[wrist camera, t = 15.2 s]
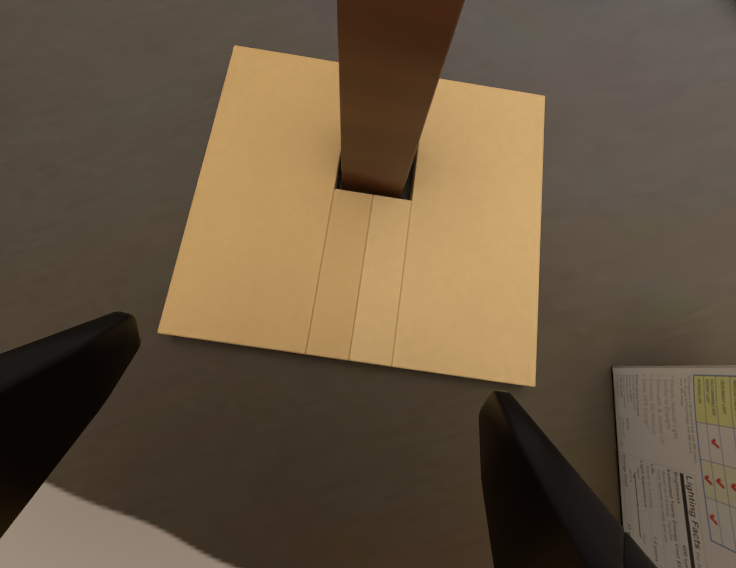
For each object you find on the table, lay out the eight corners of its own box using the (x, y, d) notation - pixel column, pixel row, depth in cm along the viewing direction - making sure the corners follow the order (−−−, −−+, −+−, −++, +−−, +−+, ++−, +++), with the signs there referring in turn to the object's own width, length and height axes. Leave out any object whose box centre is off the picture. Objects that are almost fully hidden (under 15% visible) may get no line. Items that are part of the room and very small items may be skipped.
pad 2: (523, 385, 23) (535, 387, 21) (348, 360, 22) (348, 360, 21) (534, 110, 27) (545, 95, 26) (389, 86, 27) (391, 70, 25)
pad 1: (348, 360, 22) (348, 360, 21) (168, 335, 22) (156, 333, 21) (389, 86, 27) (391, 70, 25) (240, 62, 27) (234, 44, 25)
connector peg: (399, 203, 25) (474, -29, 10) (341, 191, 25) (334, -59, 10) (409, 152, 26) (491, -129, 11) (353, 140, 26) (363, -157, 11)
